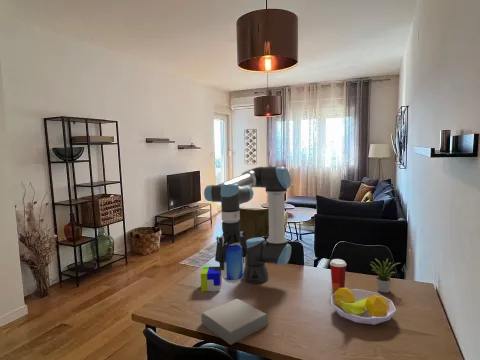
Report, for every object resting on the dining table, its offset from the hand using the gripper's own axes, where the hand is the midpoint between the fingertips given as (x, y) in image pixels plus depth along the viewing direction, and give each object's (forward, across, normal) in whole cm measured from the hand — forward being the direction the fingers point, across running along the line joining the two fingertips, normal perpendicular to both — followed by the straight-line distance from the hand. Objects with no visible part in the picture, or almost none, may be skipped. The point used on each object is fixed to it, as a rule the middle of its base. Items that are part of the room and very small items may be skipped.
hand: (232, 274), depth 130 cm
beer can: (+3, 0, 0) cm, 3 cm away
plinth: (+22, 0, 0) cm, 22 cm away
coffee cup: (+22, +61, -11) cm, 66 cm away
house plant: (+22, +78, -28) cm, 86 cm away
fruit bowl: (+22, +45, -32) cm, 60 cm away
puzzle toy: (+22, +14, +37) cm, 45 cm away
